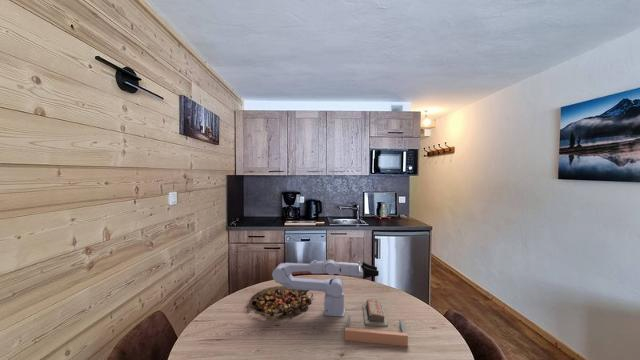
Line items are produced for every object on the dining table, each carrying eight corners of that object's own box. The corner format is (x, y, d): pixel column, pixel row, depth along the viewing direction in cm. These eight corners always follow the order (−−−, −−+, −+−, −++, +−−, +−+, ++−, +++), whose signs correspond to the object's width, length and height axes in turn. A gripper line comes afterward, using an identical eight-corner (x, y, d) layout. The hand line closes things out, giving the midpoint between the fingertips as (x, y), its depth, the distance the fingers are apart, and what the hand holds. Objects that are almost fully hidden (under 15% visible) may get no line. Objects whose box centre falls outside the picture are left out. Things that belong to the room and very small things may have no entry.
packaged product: (362, 297, 138) (382, 298, 137) (362, 307, 138) (382, 308, 137) (365, 315, 120) (387, 316, 119) (365, 326, 120) (387, 327, 119)
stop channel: (344, 340, 109) (344, 330, 109) (347, 319, 125) (347, 311, 125) (407, 346, 105) (407, 335, 105) (402, 324, 121) (402, 315, 121)
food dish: (298, 329, 120) (298, 311, 119) (235, 318, 130) (234, 302, 130) (322, 294, 153) (322, 280, 153) (270, 288, 163) (270, 275, 163)
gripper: (349, 263, 124) (379, 266, 123) (349, 257, 138) (376, 259, 137) (348, 279, 124) (379, 282, 122) (348, 271, 138) (375, 273, 136)
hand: (377, 271), depth 129 cm, fingers open, 7 cm apart
